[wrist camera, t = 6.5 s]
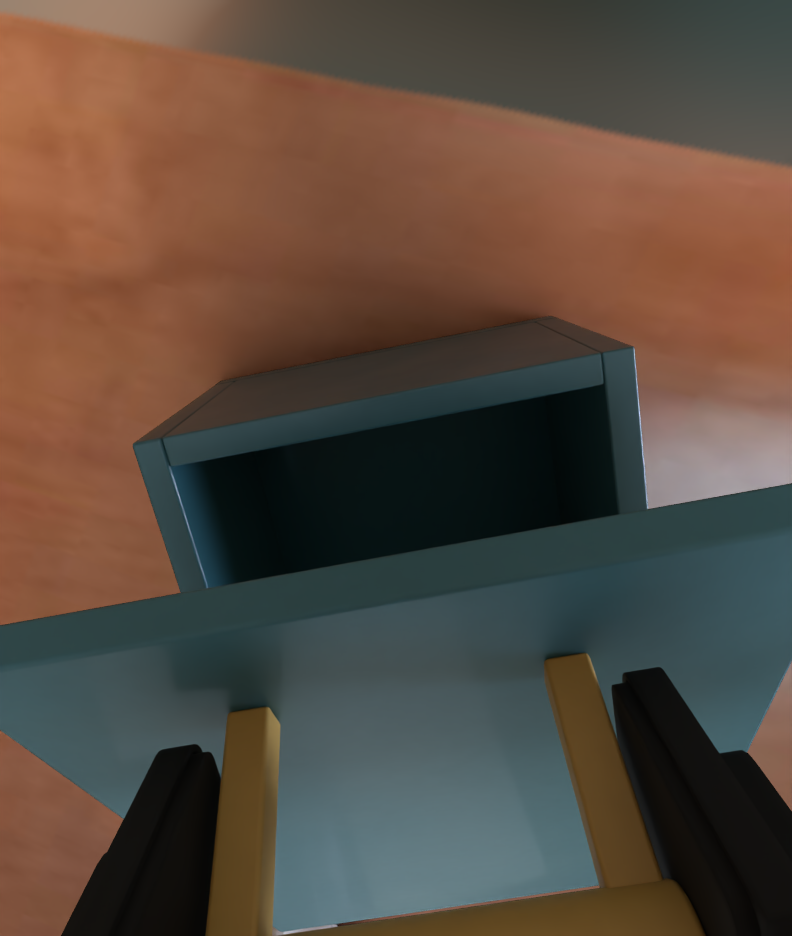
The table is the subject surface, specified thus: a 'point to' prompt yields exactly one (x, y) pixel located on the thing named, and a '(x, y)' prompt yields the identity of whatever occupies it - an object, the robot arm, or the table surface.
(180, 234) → the table surface
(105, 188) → the table surface
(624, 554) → the lid
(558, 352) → the chest
